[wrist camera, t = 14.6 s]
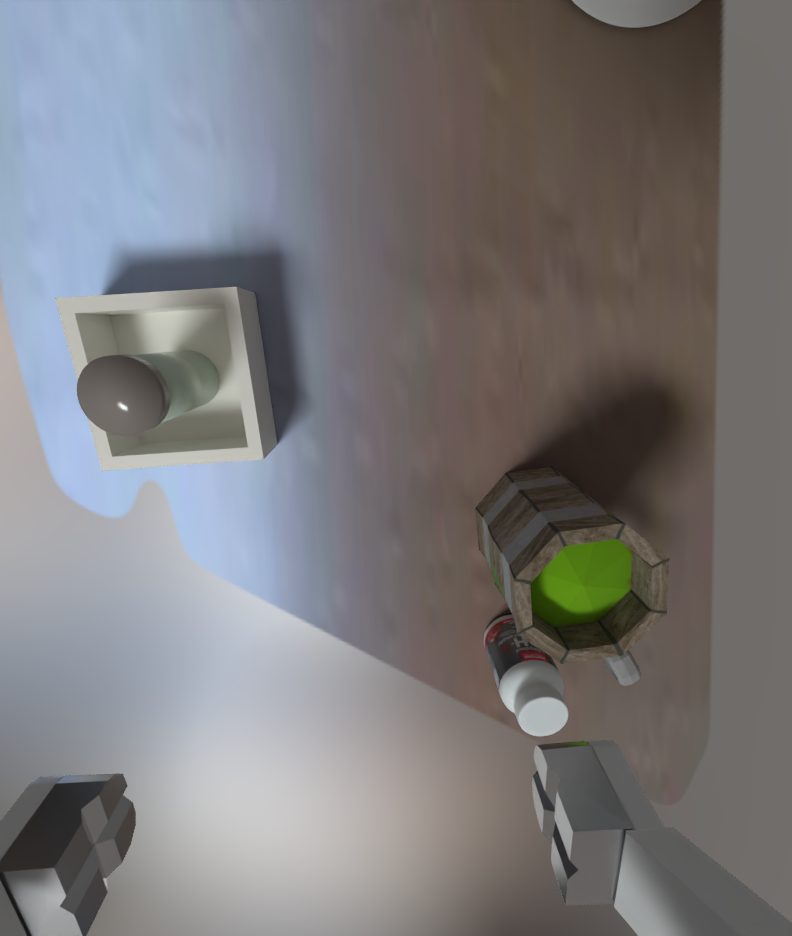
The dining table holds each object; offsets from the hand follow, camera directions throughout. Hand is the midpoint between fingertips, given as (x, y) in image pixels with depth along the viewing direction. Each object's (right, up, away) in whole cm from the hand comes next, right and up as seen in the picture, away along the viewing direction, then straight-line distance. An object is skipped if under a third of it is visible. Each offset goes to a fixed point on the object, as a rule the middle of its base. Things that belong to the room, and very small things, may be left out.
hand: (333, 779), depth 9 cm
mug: (+15, -1, +32) cm, 35 cm away
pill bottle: (+13, -10, +35) cm, 39 cm away
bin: (-15, +14, +27) cm, 33 cm away
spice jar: (-15, +13, +26) cm, 33 cm away
